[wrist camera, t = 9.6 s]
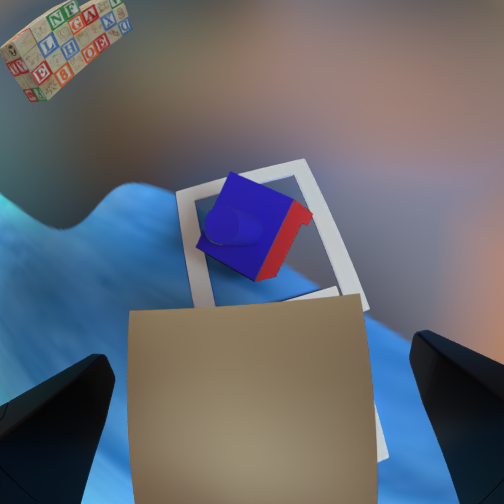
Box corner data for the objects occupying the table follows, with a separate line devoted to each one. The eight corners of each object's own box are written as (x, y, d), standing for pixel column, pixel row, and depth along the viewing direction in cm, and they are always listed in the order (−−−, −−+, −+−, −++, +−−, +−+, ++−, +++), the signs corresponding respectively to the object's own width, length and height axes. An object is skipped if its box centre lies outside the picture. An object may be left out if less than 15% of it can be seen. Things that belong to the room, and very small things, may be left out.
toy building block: (236, 248, 20) (161, 246, 13) (264, 190, 20) (201, 154, 12) (283, 274, 19) (228, 288, 12) (313, 213, 18) (277, 185, 11)
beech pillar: (316, 438, 13) (377, 518, 3) (229, 444, 14) (137, 520, 4) (310, 357, 15) (359, 293, 5) (226, 364, 16) (129, 310, 6)
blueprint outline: (410, 446, 12) (411, 446, 12) (200, 504, 12) (199, 504, 12) (304, 160, 21) (304, 158, 21) (145, 202, 21) (144, 201, 21)
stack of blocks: (111, 33, 42) (92, -16, 31) (134, 29, 40) (115, -24, 29) (30, 103, 34) (-3, 48, 23) (47, 101, 32) (12, 40, 21)
